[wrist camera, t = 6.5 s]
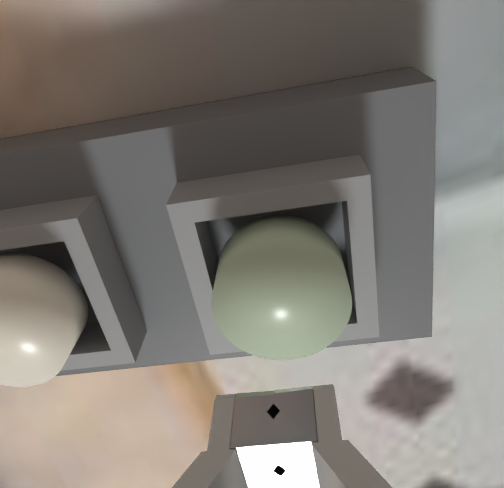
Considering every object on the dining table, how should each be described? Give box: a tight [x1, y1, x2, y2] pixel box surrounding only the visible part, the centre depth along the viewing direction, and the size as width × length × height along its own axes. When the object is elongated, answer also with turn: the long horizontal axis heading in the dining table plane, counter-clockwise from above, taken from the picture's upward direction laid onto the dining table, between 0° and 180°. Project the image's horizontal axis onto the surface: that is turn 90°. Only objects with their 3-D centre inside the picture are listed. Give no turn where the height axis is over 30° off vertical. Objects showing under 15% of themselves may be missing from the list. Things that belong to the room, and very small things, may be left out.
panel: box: [0, 67, 436, 376], centre depth 20 cm, size 32×11×5 cm, turn 100°
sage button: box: [211, 215, 352, 360], centre depth 16 cm, size 5×5×2 cm
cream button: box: [0, 253, 88, 387], centre depth 17 cm, size 5×5×2 cm
